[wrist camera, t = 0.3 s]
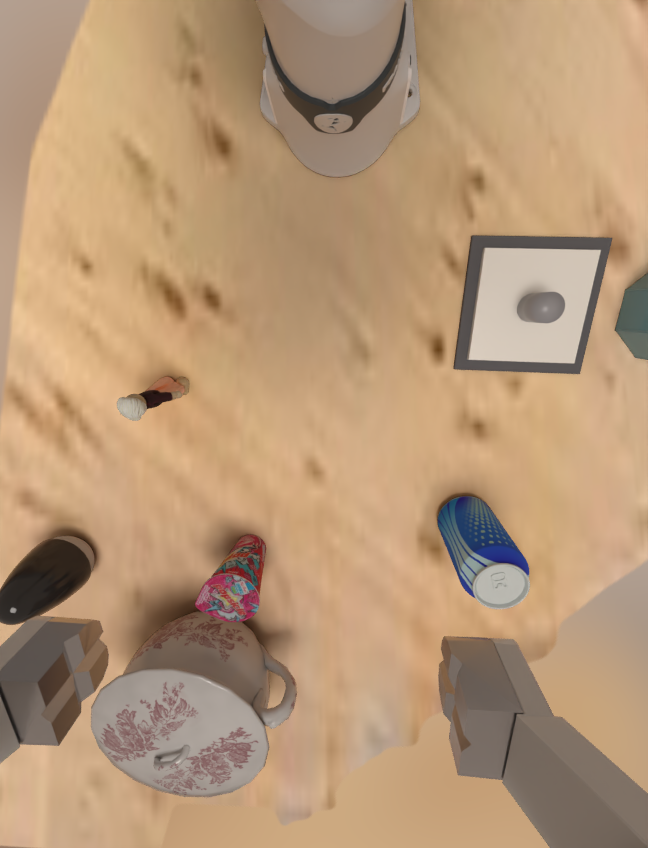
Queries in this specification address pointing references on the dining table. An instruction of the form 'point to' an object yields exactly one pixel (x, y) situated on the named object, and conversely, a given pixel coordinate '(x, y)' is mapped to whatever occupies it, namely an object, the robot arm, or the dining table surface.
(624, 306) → the bowl
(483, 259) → the cover board
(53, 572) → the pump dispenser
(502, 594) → the beer can
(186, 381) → the grandmother figurine
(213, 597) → the cup
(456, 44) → the dining table surface
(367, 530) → the dining table surface
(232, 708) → the chamber pot
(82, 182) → the dining table surface
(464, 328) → the mat
